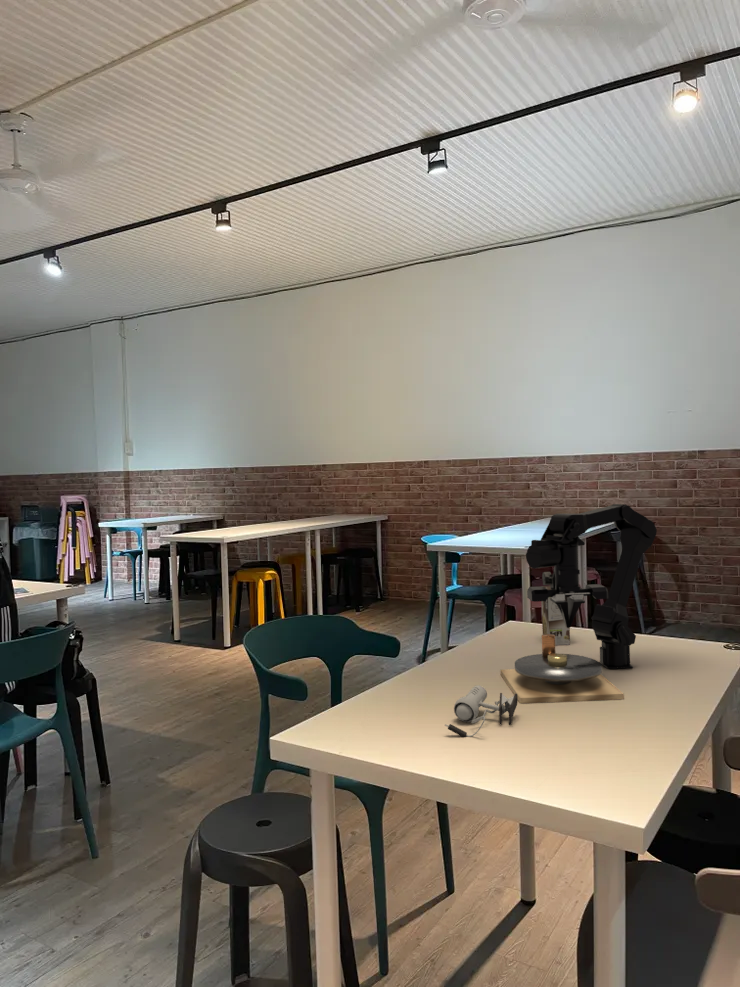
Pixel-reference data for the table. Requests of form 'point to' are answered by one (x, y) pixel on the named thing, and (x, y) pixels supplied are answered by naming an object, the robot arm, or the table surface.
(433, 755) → the table surface
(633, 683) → the table surface
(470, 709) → the clip-on lamp
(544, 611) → the coffee box
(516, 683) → the board
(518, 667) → the handwheel
